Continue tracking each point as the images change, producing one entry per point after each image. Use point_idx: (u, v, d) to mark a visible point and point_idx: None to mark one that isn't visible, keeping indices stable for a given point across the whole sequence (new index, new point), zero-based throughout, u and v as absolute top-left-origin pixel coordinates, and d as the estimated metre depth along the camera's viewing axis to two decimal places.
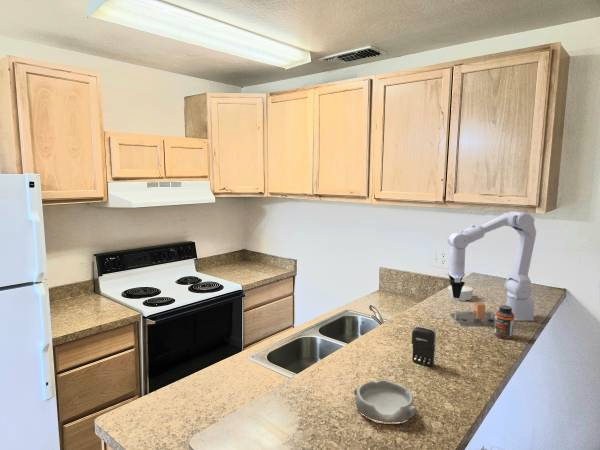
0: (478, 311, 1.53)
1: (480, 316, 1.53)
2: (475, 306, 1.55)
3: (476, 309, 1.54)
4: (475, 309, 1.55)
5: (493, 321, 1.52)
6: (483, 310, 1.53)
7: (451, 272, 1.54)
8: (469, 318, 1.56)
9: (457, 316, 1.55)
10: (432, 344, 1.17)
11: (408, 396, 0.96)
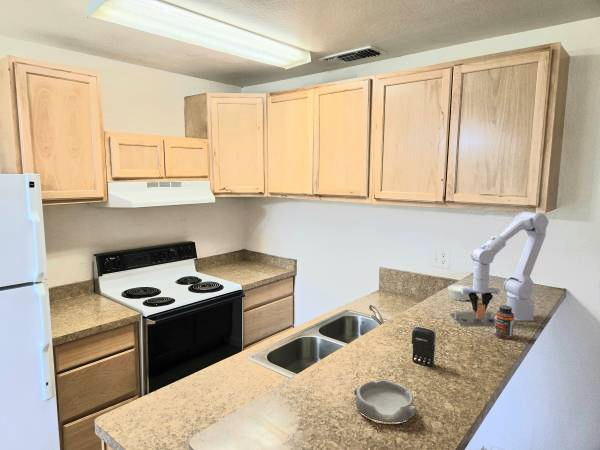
0: (478, 311, 1.53)
1: (480, 316, 1.53)
2: None
3: None
4: None
5: (493, 321, 1.52)
6: (483, 310, 1.53)
7: None
8: (469, 318, 1.56)
9: (457, 316, 1.55)
10: (432, 344, 1.17)
11: (408, 396, 0.96)
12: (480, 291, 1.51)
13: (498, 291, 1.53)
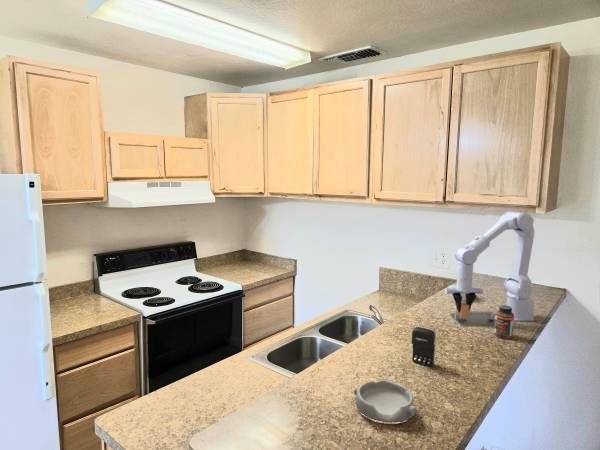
0: (462, 311, 1.53)
1: (464, 316, 1.53)
2: None
3: None
4: None
5: (493, 321, 1.52)
6: (467, 310, 1.53)
7: None
8: (469, 318, 1.56)
9: (457, 316, 1.55)
10: (432, 344, 1.17)
11: (408, 396, 0.96)
12: (464, 291, 1.51)
13: (482, 291, 1.53)
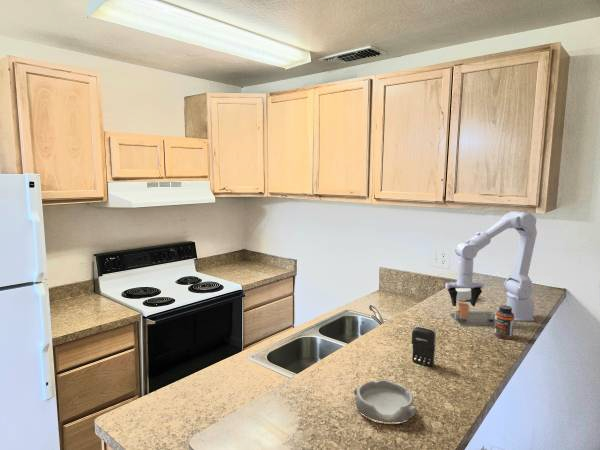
0: (462, 311, 1.53)
1: (464, 316, 1.53)
2: (459, 306, 1.55)
3: (460, 309, 1.54)
4: (459, 309, 1.55)
5: (493, 321, 1.52)
6: (467, 310, 1.53)
7: None
8: (469, 318, 1.56)
9: (457, 316, 1.55)
10: (432, 344, 1.17)
11: (408, 396, 0.96)
12: (464, 286, 1.51)
13: (482, 286, 1.52)
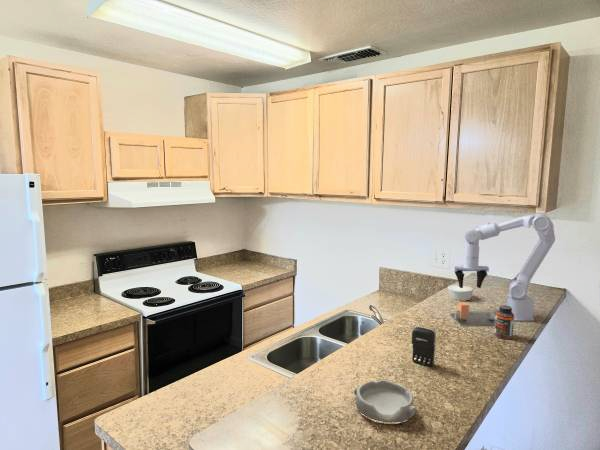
0: (462, 311, 1.53)
1: (464, 316, 1.53)
2: (459, 306, 1.55)
3: (460, 309, 1.54)
4: (459, 309, 1.55)
5: (493, 321, 1.52)
6: (467, 310, 1.53)
7: None
8: (469, 318, 1.56)
9: (457, 316, 1.55)
10: (432, 344, 1.17)
11: (408, 396, 0.96)
12: (470, 268, 1.61)
13: (487, 269, 1.63)
